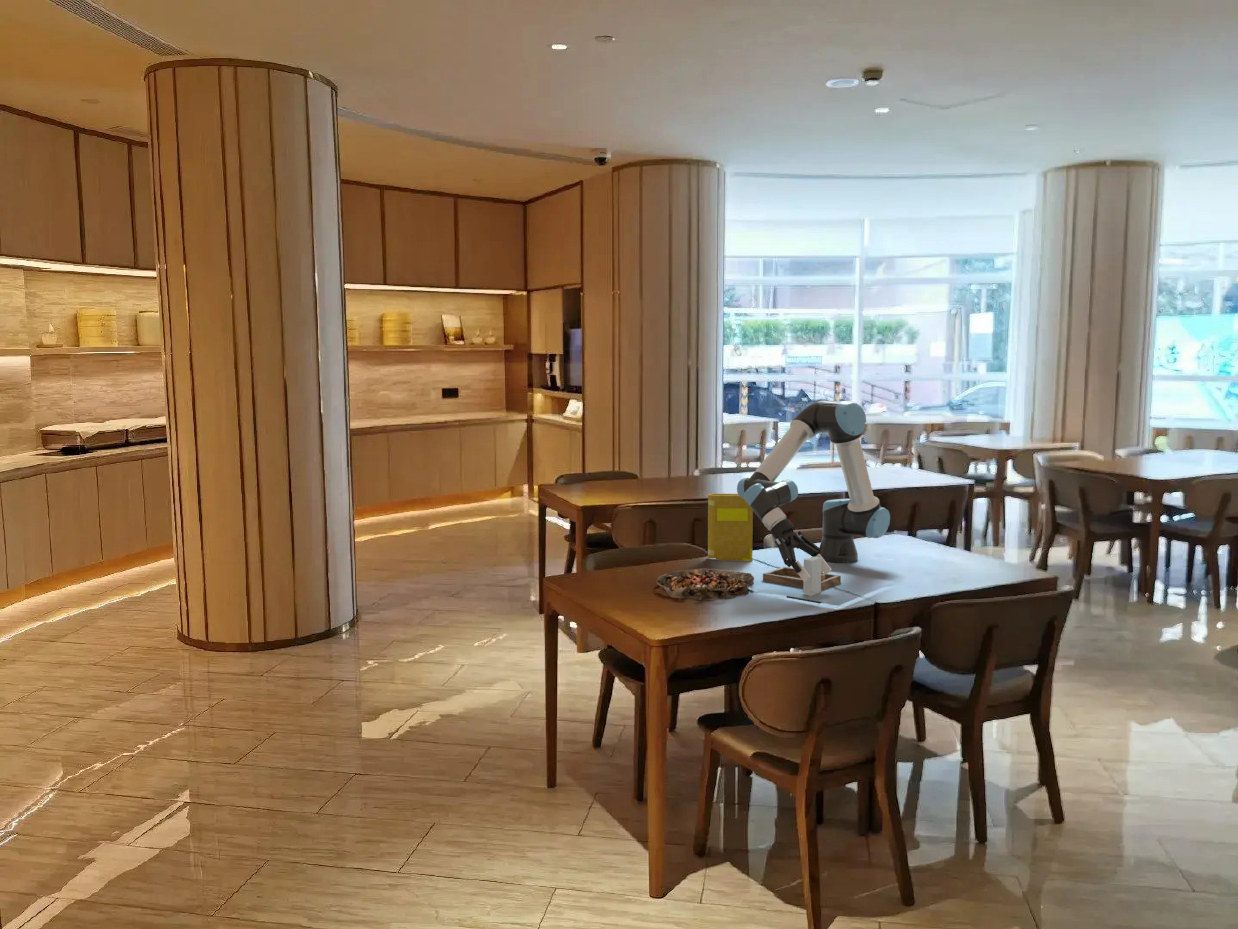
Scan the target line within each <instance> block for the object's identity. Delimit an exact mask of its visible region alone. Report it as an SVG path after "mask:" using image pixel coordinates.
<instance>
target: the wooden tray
mask: <svg viewBox="0 0 1238 929" xmlns="http://www.w3.org/2000/svg"><path fill="white" fill-rule="evenodd" d="M823 575H825V574H824V572H823ZM841 578H842V577H841V575H839V574H833V573H827V574H826V575H825V580H823V581H821V591H823V590H825V589H828V588H830V587H832V586H835V585H839V584H841V583H842V581H841V580H842V579H841ZM762 581H764V582H770V583H773V584H774V583H775V584H781V585H785V586H786V585H787V586H792V587H797V588H803V584H804V581H803V580H802V579H801V577H800V576H799V575H798V573H797V572H796V571H795V570H794V568H793V567H788V566H782V567H780V568H776V569H773V570H770V571H767V572H764V573H763V574H762Z"/></svg>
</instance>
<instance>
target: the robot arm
mask: <svg viewBox="0 0 1238 929" xmlns="http://www.w3.org/2000/svg"><path fill="white" fill-rule="evenodd" d="M866 423H867V416H866V412H865V410H864V409H863V407H862V406H861V405H860V404H858V403H857V402H854V401H849V400H842V401H841V400H837V401H836V400H818V401H817V400H816V401H815V402H813V403H811V404H809V405H807V406H806V407H804V408H803V409H802V410H801V411H799V413H797V414H796V416H795V417H794V418H793V419H792V420H791V422H790V423H789V429H788V430H787V431H786V432H785V434H784V435H783V436H782V437H781V438H780V440H779V441H778V442H777V444H776V445H775V446H774V447H773V448H772V450H770V452H769V453H768V454H767V456H766V457H765V459H764V460H763V461H762V462H761V464H760V465H758V466H757V468H756V469H755V471H754V472H753V474H751V475H750V477H743V478H741V479H739V481H738V483H737V485H736V494H738V495H739V496H740V497H741V498H743V499H745V500H746V502H747V503H748V505H749V506H750V507H751V509H752V510H753V513H755V515H756V516H757V517H758V519H759V520H760V521H761V523H763V525H764V527H765V528H766V529H767V531H769V532H770V535H771V536H772V537H773V538H774V543H775V545H776V546H777V548H778V550H779V553H780V555H781V559H782V561H783V563H784V565H785V566H786V567H789V568H794V570H795V571H796V572H797V573H798V575H799V576H800V577H801V579H802V580H803V581H804V582H806V581H807V580H808V579H809V578H810V577H811V576H810V575H809V574H808V572H807V571H806V570H805V569H804V567H803V566H804V565H802V563H801V562H800V561H799V560H797V559H796V554H795V549H796V550H797V549H798V550H801V551H803V552H804V553H806V554H808V555H809V556H810V557H820V558H821V570H822V571H823V573H824V574H825V575H826V574H829V573H830V572H831V571H832V568H831V566H830V565H829V564H828V563H827V562H829V563H852V562H856V561H858V560H859V558H858V557H859V554H858V550H857V546H856V544H855V540H854V536H858V537H865V538H868V539H879V538H882V536H884V535H885V534H886V532H887V531H888V528H889V527H890V524H891V523H890V522H891V514H890V511H889V509H886V508H885V507H882V506H881V502H880V499H879V498H878V497H877V496H874V492H873V486H872V484H871V480H870V476H869V471H868V468H867V464H866V460H865V456H864V451H863V448H862V443H861V440H860V439H861V438H862V436H863V432H864V430H865V429H866ZM821 433H824V434H828V437H829V441H830V443H831V444H833V445H835V446H836V450H837V455H838V459H839V463H840V465H841V466H840V467H841V470H842V474H843V478H844V482H845V486H846V490H847V494H848V497H849V498H838V499H837V498H836V499H835V498H834V499H828V500H826V501H824V502H823V505H822V536H821V537H822V538H821V542H820V544H819V546H817V544H815V543H814V542H813V541H812V540H811V539H809V538H808V537H807V536H805V535H804V533H802V531H800V530H799V531H798V532H795V531H794V528H795V525H794V524H793V522H792V521H791V520H790V519H789V518H787V515H786V514H785V512H783V510H782V509H781V508H780V507H781V506H783V505H786V504H789V503H791V502H792V501H794V500H796V499H797V498H798V496H799V487H798V486H797V484H796V483H795V481H794V480H792V479H785V480H783V479H782V480H781V481H778V482H777V481H776V480H777V479H778V478H779V476H780V475H781V474H782V472H784V471H785V468H786V467H788V465H789V464H790V463H791V461H792V460H793V459H794V457H795V456H796V455H797V453H798V452H799V451H800V450H801V448H802V447H803V446H804V444H805V443H806V442H807V441H811V440H812V439H813V438H814V437H815V436H816V435H817V434H821Z"/></svg>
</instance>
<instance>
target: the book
mask: <svg viewBox="0 0 1238 929" xmlns="http://www.w3.org/2000/svg"><path fill="white" fill-rule="evenodd" d="M753 514H754V511H753V510H752V509H751V507H750V506H749V505H748V503H747V502H746V500H745V499H743V498H741V497H740V496H739V495H738V493H708V494H707V559H708V558H716V559H718V560H717V561H742V562H753V538H754V537H753V526H754V524H753V522H754V515H753Z"/></svg>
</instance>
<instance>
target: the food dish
mask: <svg viewBox="0 0 1238 929" xmlns="http://www.w3.org/2000/svg"><path fill="white" fill-rule="evenodd" d="M655 581H656V584H657V585H658V586H659V587H661V589H662V590H664V591H665V592H666V593H667V595H668V596H669V597H670V598H674V599H688V600H689V599H691V600H698V601H703V600H704V601H706V600H709V601H710V600H711V601H715V600H717V601H718V600H728V599H734V598H736V597H737V596H746V595H749V593H750V592H751V590H750V587H751V585H752V586H753V585H754V581H755V577H754V576H753V575H752V573H750V572H745V571H744V572H743V571H737V570H729V569H721V568H705V567H704V568H703V567H702V568H692V569H685V570H677V571H672V572H668V573H665V574H662V575H660V576H658V577H657V579H656V580H655Z"/></svg>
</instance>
